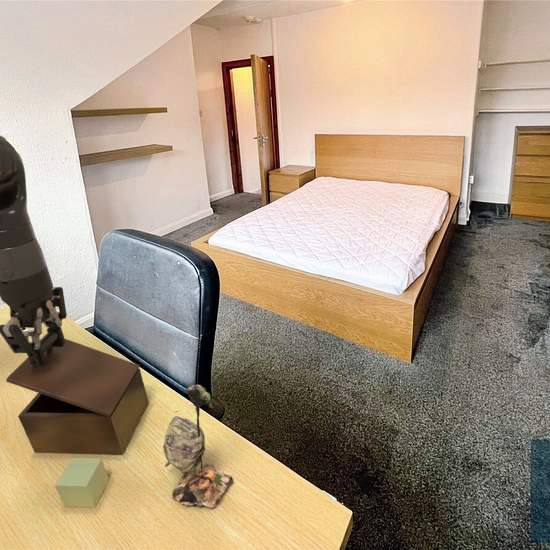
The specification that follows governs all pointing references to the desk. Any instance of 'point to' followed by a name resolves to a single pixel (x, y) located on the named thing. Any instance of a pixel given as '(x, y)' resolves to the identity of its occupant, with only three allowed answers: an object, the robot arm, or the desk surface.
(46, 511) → the desk surface
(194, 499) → the plant with pod
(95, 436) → the chest
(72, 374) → the lid
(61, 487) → the block
